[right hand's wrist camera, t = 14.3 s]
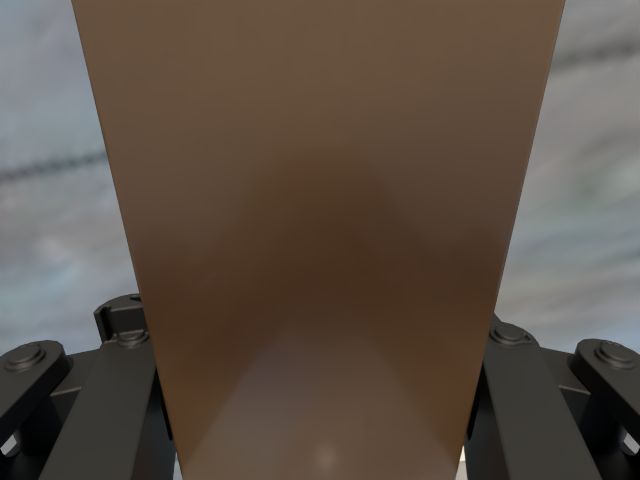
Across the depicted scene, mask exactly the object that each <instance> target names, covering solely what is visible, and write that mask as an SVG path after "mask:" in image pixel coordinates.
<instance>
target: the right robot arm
mask: <svg viewBox="0 0 640 480" xmlns="http://www.w3.org/2000/svg"><path fill="white" fill-rule="evenodd" d="M94 317H95V320H96V324H97V327H98V330H99V334H100V337H101V341H102V344H101V346H100V349H96V350H91V351H86V352H81V353H76V354H71V355H66V354H65V351H64V348H63V345H62V344H60V343H59V342H57V341H51V340H44V341H37V342H31V343H28V344H24V345H21V346H19V347H17V348H15V349H13V350H11V351H9V352H7V353H5V354H4V355H2V356H1V357H0V448H1V447H2V446H3V445H4V443H5V442H6V441H7V440H8V439H9V438H10V437H11V436H12V434H13V436H14V438H15V440H16V442H17V443H16V445H15V446H14V447H13V448H12V449H11V450H10V451H9V452H8V453H7V454H6V455H4V454H3V453H2V451H1V449H0V480H173V473H174V464H175V456H176V448H175V444H174V440H173V435H172V431H171V427H170V422H169V418H168V414H167V409H166V405H165V401H164V397H163V392H162V388H161V384H160V379H159V375H158V371H157V367H156V362H155V358H154V354H153V349H152V345H151V341H150V336H149V332H148V328H147V324H146V319H145V315H144V311H143V306H142V302H141V298H140V294H129V295H124V296H120V297H117V298H115V299H112V300H109V301H108V302H106V303H104V304H103V305H101V306H99V307H98V308H97V309H96V311H95V312H94ZM627 433H629V434H630V435H631V437H632V438H633V439H634V440H635V441H636V442H637V443H638V444H639V446H640V355H639V354H638V353H636V352H635V351H633V350H631V349H628V348H626V347H624V346H623V345H621V344H618V343H615V342H614V343H613V342H612V341H608V340H600V339H584V340H582V341H581V342H579V343H578V344H577V347H576V350H575V353H574V354H571V353H566V352H561V351H556V350H551V349H546V348H542V347H540V346H539V344H538V342H537V341H536V339H535V338H534V337H533V336H532V335H531V334H530V333H528V332H527V331H525V330H524V329H522V328H520V327H517V326H515V325H513V324H509V323H505V322H501V321H500V320H499V318H498V317H497V316H496V315H495V313H494V314H493V318H492V323H491V327H490V331H489V336H488V340H487V344H486V349H485V353H484V358H483V362H482V366H481V371H480V375H479V379H478V384H477V388H476V392H475V397H474V401H473V405H472V410H471V414H470V419H469V423H468V427H467V432H466V436H465V440H464V445H463V449H462V453H461V458H460V462H459V467H458V471H457V475H456V480H640V448H639V450H638V452H637V453H636V454H635V453H634V452H633V451H632V450H630V449H629V447H628V446H627V445H626V444H625V443H624V442H623V441H624V439H625V437H626V435H627Z"/></svg>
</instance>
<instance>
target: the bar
mask: <svg viewBox="0 0 640 480" xmlns="http://www.w3.org/2000/svg"><path fill="white" fill-rule="evenodd" d="M71 1H72V6H73V10H74V14H75V19H76V23H77V27H78V31H79V36H80V40H81V44H82V49H83V53H84V57H85V62H86V66H87V70H88V74H89V79H90V83H91V87H92V92H93V96H94V100H95V104H96V109H97V113H98V117H99V122H100V126H101V130H102V135H103V139H104V143H105V147H106V152H107V156H108V160H109V165H110V169H111V173H112V178H113V182H114V186H115V190H116V195H117V199H118V203H119V208H120V212H121V216H122V220H123V225H124V229H125V233H126V238H127V242H128V246H129V251H130V255H131V259H132V263H133V268H134V272H135V276H136V281H137V285H138V289H139V294H140V298H141V302H142V306H143V311H144V315H145V319H146V324H147V328H148V332H149V336H150V341H151V345H152V349H153V354H154V358H155V362H156V367H157V371H158V375H159V379H160V384H161V388H162V392H163V397H164V401H165V405H166V409H167V414H168V418H169V422H170V427H171V431H172V435H173V440H174V444H175V448H176V452H177V457H178V461H179V465H180V470H181V474H182V478H183V480H456V475H457V471H458V467H459V462H460V458H461V453H462V449H463V445H464V440H465V436H466V432H467V427H468V423H469V419H470V414H471V410H472V405H473V401H474V397H475V392H476V388H477V384H478V379H479V375H480V371H481V366H482V362H483V358H484V353H485V349H486V344H487V340H488V336H489V331H490V327H491V323H492V318H493V314H494V310H495V305H496V301H497V297H498V292H499V288H500V283H501V279H502V275H503V270H504V266H505V262H506V257H507V253H508V249H509V244H510V240H511V236H512V231H513V227H514V222H515V218H516V214H517V209H518V205H519V201H520V196H521V192H522V188H523V183H524V179H525V174H526V170H527V166H528V161H529V157H530V153H531V148H532V144H533V140H534V135H535V131H536V127H537V122H538V118H539V113H540V109H541V105H542V100H543V96H544V92H545V87H546V83H547V79H548V74H549V70H550V66H551V61H552V57H553V52H554V48H555V44H556V39H557V35H558V31H559V26H560V22H561V18H562V13H563V9H564V5H565V0H71Z"/></svg>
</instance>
